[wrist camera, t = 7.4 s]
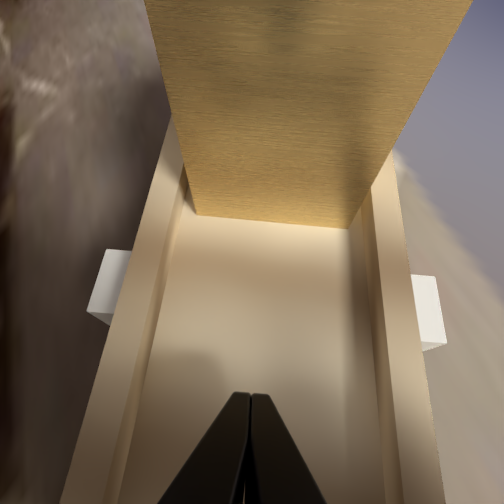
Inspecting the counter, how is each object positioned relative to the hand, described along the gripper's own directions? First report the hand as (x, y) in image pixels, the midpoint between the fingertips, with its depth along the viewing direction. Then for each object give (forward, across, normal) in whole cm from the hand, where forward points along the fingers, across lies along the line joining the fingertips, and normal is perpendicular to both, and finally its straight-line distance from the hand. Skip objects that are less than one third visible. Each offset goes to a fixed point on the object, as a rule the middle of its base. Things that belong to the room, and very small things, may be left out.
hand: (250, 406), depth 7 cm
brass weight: (+9, 0, -6) cm, 10 cm away
